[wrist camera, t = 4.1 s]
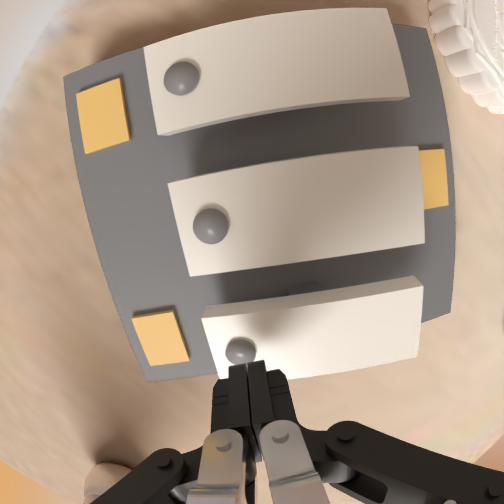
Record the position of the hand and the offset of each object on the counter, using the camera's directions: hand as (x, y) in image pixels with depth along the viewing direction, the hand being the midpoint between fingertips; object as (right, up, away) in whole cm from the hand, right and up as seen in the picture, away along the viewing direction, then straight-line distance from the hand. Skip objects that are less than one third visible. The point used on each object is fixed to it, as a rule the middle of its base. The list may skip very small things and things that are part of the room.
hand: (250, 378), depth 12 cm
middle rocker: (+2, +7, 0) cm, 7 cm away
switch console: (+2, +9, +5) cm, 10 cm away
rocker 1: (+1, +13, -2) cm, 13 cm away
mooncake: (+18, +22, +3) cm, 29 cm away
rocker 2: (+3, +1, +2) cm, 4 cm away
